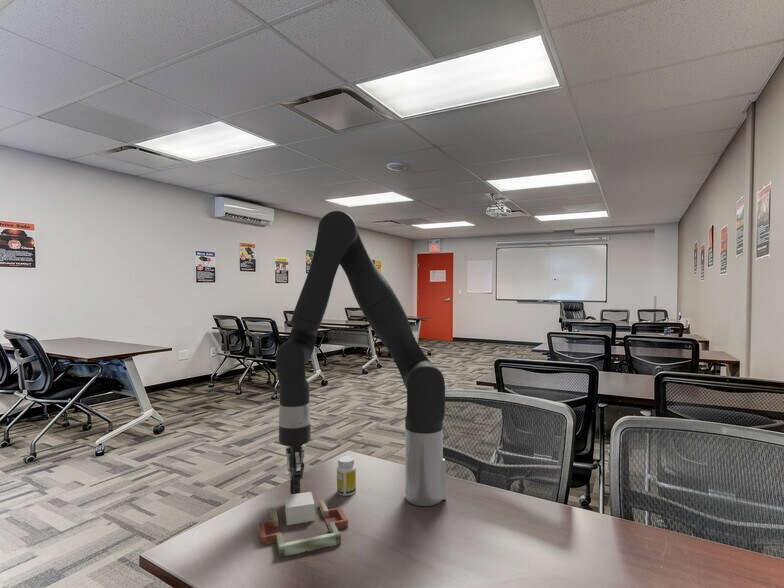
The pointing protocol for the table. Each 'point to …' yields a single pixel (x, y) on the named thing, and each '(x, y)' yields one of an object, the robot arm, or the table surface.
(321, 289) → the robot arm
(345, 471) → the supplement bottle
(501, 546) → the table surface
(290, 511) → the grey block
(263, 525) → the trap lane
